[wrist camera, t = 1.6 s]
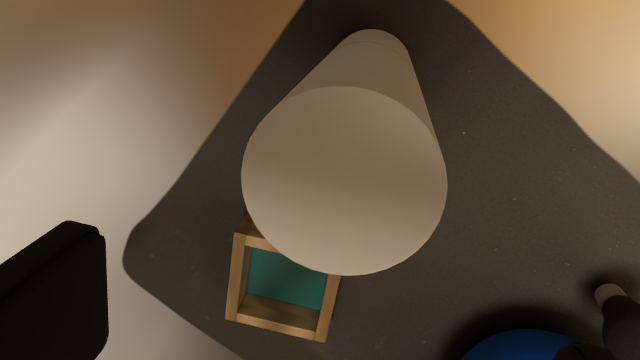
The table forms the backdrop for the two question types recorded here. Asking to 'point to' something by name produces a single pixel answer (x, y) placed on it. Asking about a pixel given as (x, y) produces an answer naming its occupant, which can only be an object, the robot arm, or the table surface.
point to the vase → (519, 346)
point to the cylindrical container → (348, 162)
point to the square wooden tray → (277, 288)
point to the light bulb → (619, 322)
